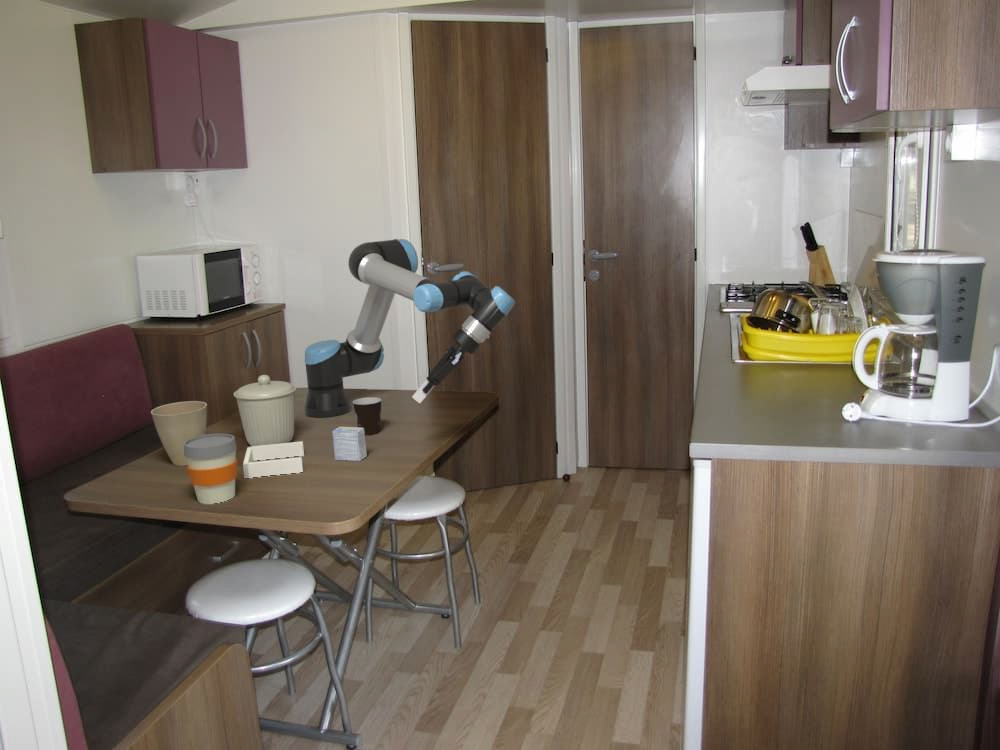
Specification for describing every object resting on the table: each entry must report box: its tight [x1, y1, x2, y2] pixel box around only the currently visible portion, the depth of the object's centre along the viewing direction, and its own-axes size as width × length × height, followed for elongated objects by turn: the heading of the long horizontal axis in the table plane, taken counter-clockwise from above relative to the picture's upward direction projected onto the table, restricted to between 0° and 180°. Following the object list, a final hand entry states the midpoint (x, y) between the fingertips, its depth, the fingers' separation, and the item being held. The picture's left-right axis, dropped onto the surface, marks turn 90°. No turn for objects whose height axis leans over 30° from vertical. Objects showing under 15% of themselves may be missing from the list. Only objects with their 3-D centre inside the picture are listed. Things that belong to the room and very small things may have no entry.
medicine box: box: [331, 426, 368, 462], centre depth 253 cm, size 8×4×9 cm, turn 71°
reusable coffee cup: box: [184, 432, 238, 505], centre depth 226 cm, size 13×13×15 cm
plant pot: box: [150, 400, 208, 467], centre depth 256 cm, size 15×15×16 cm
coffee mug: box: [352, 396, 382, 436], centre depth 279 cm, size 12×9×10 cm
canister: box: [233, 374, 297, 447], centre depth 269 cm, size 18×18×21 cm
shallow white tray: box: [242, 440, 305, 479], centre depth 250 cm, size 16×15×4 cm
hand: (415, 399), depth 254 cm, fingers closed
